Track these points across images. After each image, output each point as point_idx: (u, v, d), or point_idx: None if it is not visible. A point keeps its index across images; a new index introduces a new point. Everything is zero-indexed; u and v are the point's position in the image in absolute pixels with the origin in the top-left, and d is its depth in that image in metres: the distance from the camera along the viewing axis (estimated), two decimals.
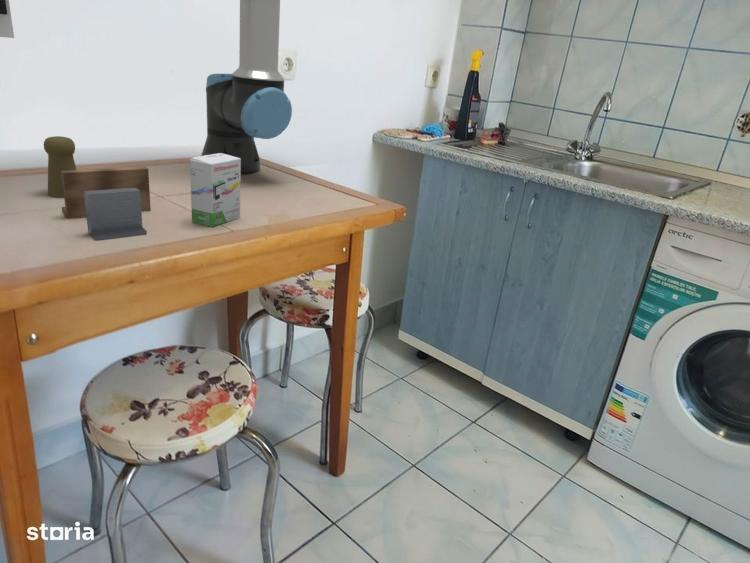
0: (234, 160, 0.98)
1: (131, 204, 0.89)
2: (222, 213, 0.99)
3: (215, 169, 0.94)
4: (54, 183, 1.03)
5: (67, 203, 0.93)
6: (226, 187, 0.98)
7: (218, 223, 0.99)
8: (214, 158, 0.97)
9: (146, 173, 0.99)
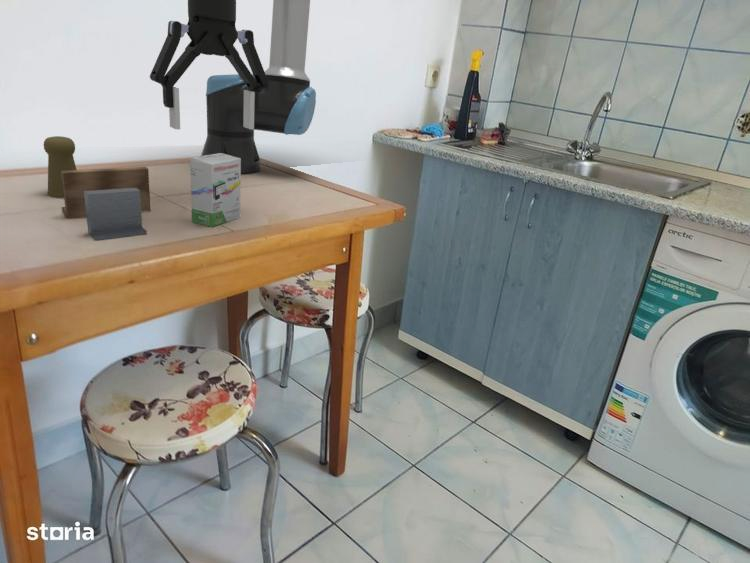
0: (234, 160, 0.98)
1: (131, 204, 0.89)
2: (222, 213, 0.99)
3: (215, 169, 0.94)
4: (54, 183, 1.03)
5: (67, 203, 0.93)
6: (226, 187, 0.98)
7: (218, 223, 0.99)
8: (214, 158, 0.97)
9: (146, 173, 0.99)
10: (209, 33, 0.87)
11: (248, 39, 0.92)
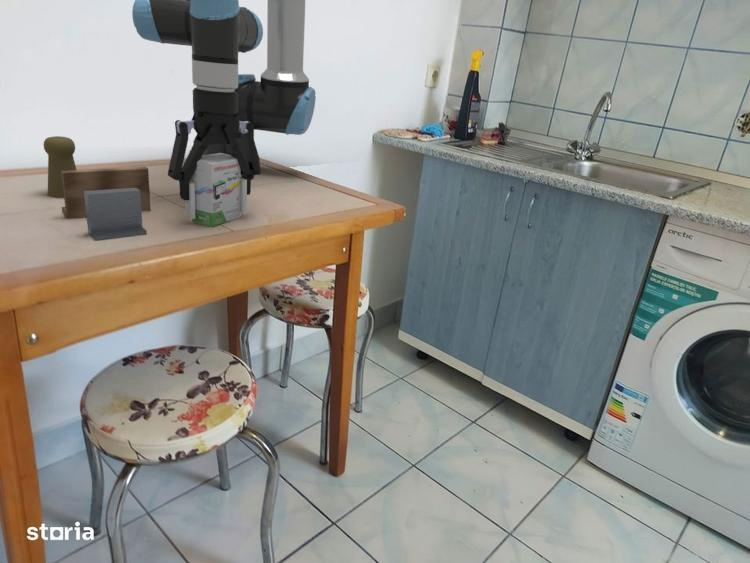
0: (234, 160, 0.98)
1: (131, 204, 0.89)
2: (222, 213, 0.99)
3: (215, 168, 0.94)
4: (54, 183, 1.03)
5: (67, 203, 0.93)
6: (226, 187, 0.98)
7: (218, 223, 0.99)
8: (214, 158, 0.97)
9: (146, 173, 0.99)
10: (212, 126, 0.93)
11: (248, 130, 0.98)
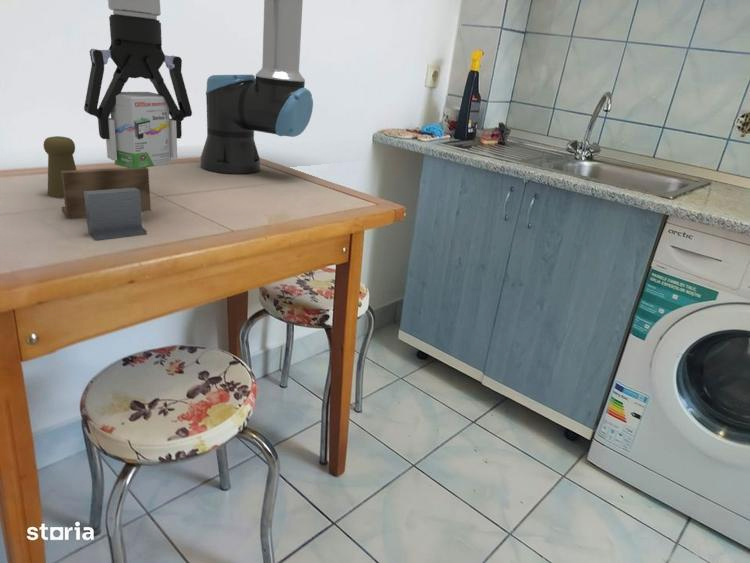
0: (160, 97, 0.91)
1: (131, 204, 0.89)
2: (148, 156, 0.91)
3: (136, 103, 0.87)
4: (54, 183, 1.03)
5: (67, 203, 0.93)
6: (151, 126, 0.90)
7: (143, 166, 0.91)
8: (137, 94, 0.89)
9: (146, 173, 0.99)
10: (132, 56, 0.85)
11: (175, 65, 0.90)
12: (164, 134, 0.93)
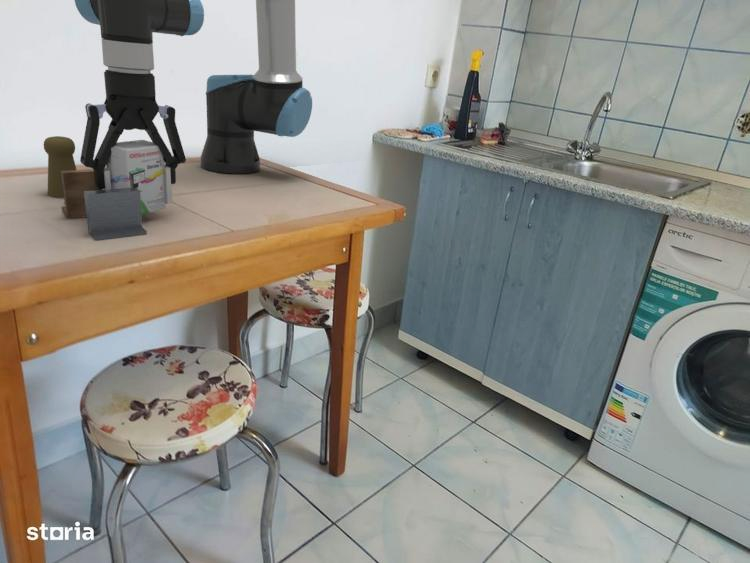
0: (155, 147, 0.93)
1: (131, 204, 0.89)
2: (143, 203, 0.94)
3: (131, 155, 0.89)
4: (54, 183, 1.03)
5: (67, 203, 0.93)
6: (146, 175, 0.93)
7: None
8: (132, 144, 0.92)
9: None
10: (126, 110, 0.87)
11: (169, 115, 0.93)
12: (159, 181, 0.96)
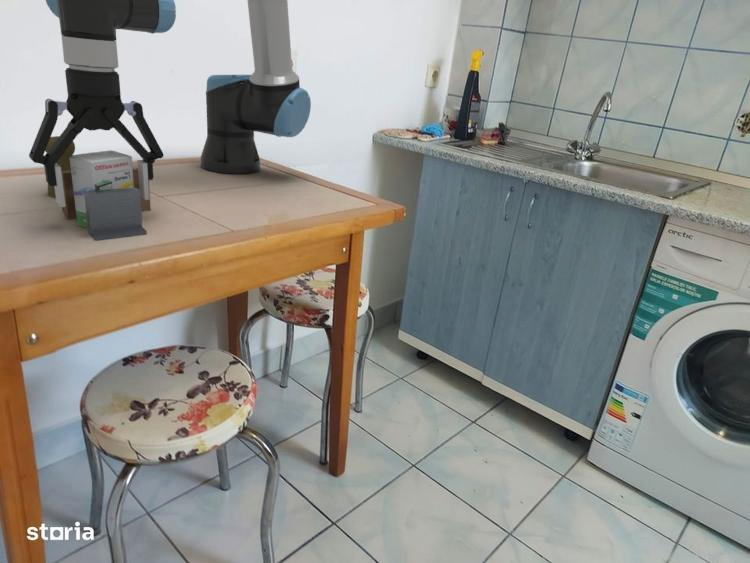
0: (122, 158, 0.91)
1: (131, 204, 0.89)
2: None
3: (96, 167, 0.86)
4: None
5: (67, 203, 0.93)
6: (113, 187, 0.90)
7: None
8: (99, 156, 0.89)
9: None
10: (89, 110, 0.84)
11: (136, 112, 0.89)
12: None
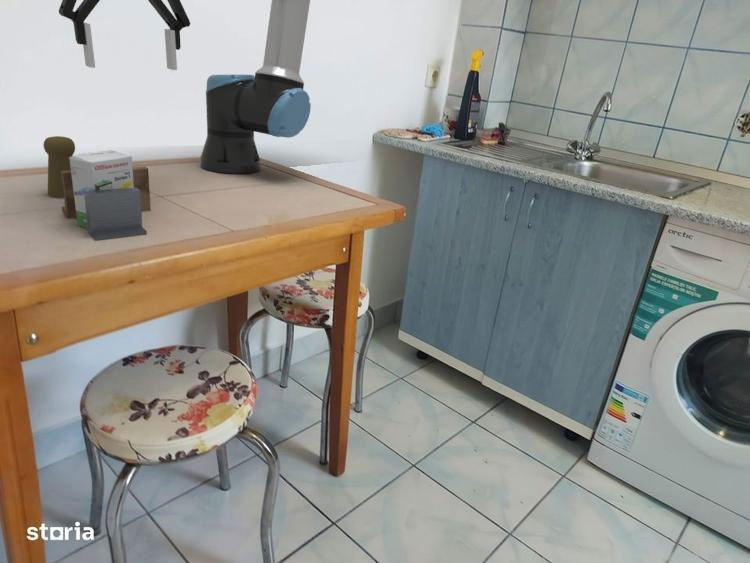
0: (122, 158, 0.91)
1: (131, 204, 0.89)
2: None
3: (96, 167, 0.86)
4: (54, 183, 1.03)
5: (67, 203, 0.93)
6: (113, 187, 0.90)
7: None
8: (99, 156, 0.89)
9: (146, 173, 0.99)
10: None
11: None
12: None
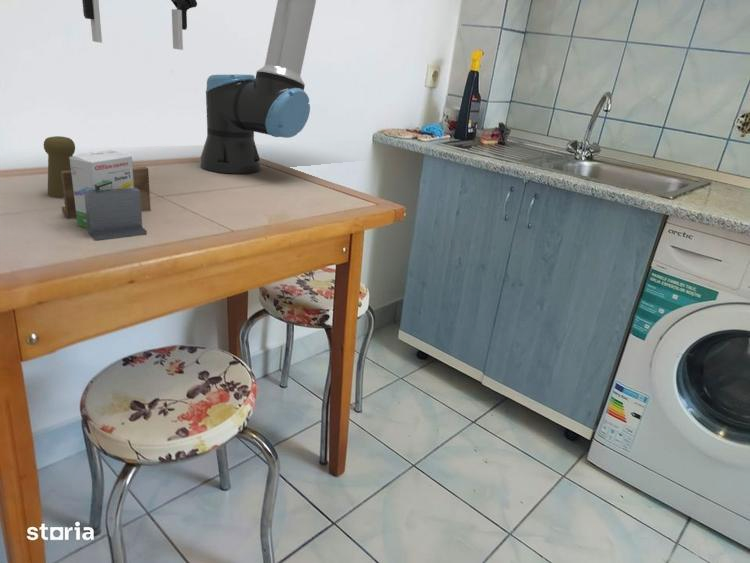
0: (122, 158, 0.91)
1: (131, 204, 0.89)
2: None
3: (96, 167, 0.86)
4: (54, 183, 1.03)
5: (67, 203, 0.93)
6: (113, 187, 0.90)
7: None
8: (99, 156, 0.89)
9: (146, 173, 0.99)
10: None
11: None
12: None
